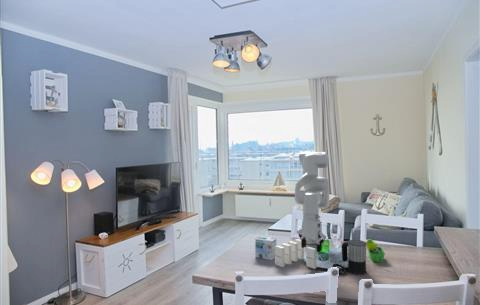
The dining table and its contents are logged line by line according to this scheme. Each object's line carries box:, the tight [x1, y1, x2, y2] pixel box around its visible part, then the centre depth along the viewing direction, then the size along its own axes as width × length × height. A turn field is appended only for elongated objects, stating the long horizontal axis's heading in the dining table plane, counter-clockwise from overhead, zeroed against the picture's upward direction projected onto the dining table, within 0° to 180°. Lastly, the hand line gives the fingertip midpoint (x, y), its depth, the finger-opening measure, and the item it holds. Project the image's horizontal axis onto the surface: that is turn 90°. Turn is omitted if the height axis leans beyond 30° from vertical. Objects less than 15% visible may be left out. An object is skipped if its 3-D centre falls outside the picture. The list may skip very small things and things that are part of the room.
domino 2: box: [281, 242, 292, 265], centre depth 182 cm, size 2×5×10 cm, turn 42°
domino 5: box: [305, 246, 318, 270], centre depth 175 cm, size 2×5×10 cm, turn 42°
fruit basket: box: [365, 238, 386, 263], centre depth 186 cm, size 11×9×11 cm
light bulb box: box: [254, 235, 277, 261], centre depth 191 cm, size 11×7×11 cm, turn 62°
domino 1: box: [274, 244, 286, 268], centre depth 178 cm, size 2×5×10 cm, turn 42°
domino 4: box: [294, 238, 305, 260], centre depth 189 cm, size 2×5×10 cm, turn 42°
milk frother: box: [332, 239, 367, 275], centre depth 168 cm, size 14×16×15 cm
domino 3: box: [287, 240, 299, 263], centre depth 185 cm, size 2×5×10 cm, turn 42°
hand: (311, 249), depth 174 cm, fingers open, 9 cm apart
